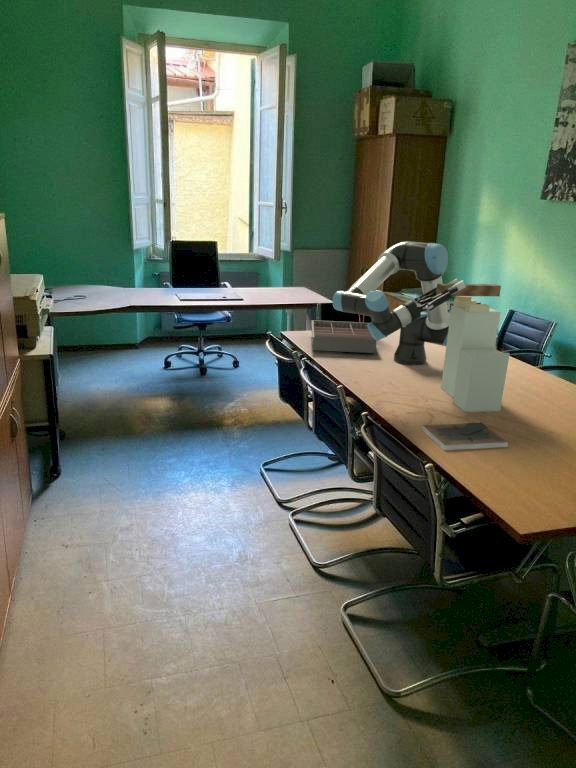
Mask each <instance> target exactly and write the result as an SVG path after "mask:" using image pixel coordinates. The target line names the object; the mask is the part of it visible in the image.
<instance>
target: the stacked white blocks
mask: <svg viewBox="0 0 576 768" xmlns="http://www.w3.org/2000/svg"><path fill="white" fill-rule="evenodd" d="M453 303H454V305H453V306H452V307H451V314H450V322H449V329H448V337H447V345H446V346H445V354H444V362H443V368H442V370H443V371H442V374H441V375H442V376H441V383H440V388H441V390H442V391H444V392H445V393H446V394H448V395H449V396H451V397H452V398H453V396H454V389H455V382H456V374H457V367H458V360H459V353H460V347H476V346H495V347H496V344H497V343H496V342H497V336H498V331H499V324H500V319H501V311H499V310H496V309H494V308H491V305H489V304H487V303H481V304H476V303H477V300H476V299H473V298H472V296H455V298H454V300H453Z"/></svg>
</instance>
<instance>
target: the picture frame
mask: <svg viewBox="0 0 576 768" xmlns="http://www.w3.org/2000/svg"><path fill="white" fill-rule="evenodd" d="M421 430H422V431H423V432H424V433H425V434H426V435H427V436H428V437H429V438H430V439H431V440H433V441H434V442H435V443H436V444H437V445H438V446H439V447H440V448H441V449H442V450H444V451H455V450H472V449H473V450H474V449H489V448H493V449H494V448H508V445H509V442H508V441H507V440H506V439H504V438H503V437H502V436H500V435H499V434H498V433H496V432H494V431H493V430H492V429H490V428H489V427H488V426H487V425H486V424H484V423H483V422H482V421H480V422H479V421H478V422H467V423H466V422H465V423H446V424H445V423H442V424H441V423H439V424H422V425H421Z"/></svg>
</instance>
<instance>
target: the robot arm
mask: <svg viewBox="0 0 576 768" xmlns="http://www.w3.org/2000/svg"><path fill="white" fill-rule="evenodd" d="M448 253H449V252H448V250H447V249H446V247H445V246H444V245H443V244H441V243H435V242H420V241H409V240H406V241H401V242H399V243H396V244H393V245H392V246H390V247H388V248H387V249H385V250H384V251H383V252H381V253H380V255H379V256H378V258H377V261H376V262H375V263H374V264H373V265H372V266H370V267H369V268H368V270H367V271H366V272H364V273H363V275H361V276H360V278H358V279H357V280H356V281H355V282H354V283H352V285H351V286H349V288H348V289H347V290H346V291H345V290H337V291H336V292H334V294H333V296H332V302H331V303H332V306H333V307H332V308H334V310H336V311H339V312H343V313H349V314H354V315H359V314H360V316H363V315H364V317H365V316H366V317H369V318H370V320H371V321H370V322H368V323H369V324H368V330H369V332H370V334H371V336H372V337H373V338H374V339H375V340H377V342H379V341H381V340H382V339H384V338H387V337H388V336H390V335H391V334H394V333H395V332H397V331H399V330H400V331H399V341H398V345H397V347H396V349H395V352H394V354H393V360H394V362H397V363H399V364H404V365H410V366H411V365H412V366H417V365H418V366H420V365H425V364H426V363H427V354H426V348H425V343H429V344H433V345H438V346H441V347H446V345H447V337H448V329H449V322H450V313H449V310H448V306H447V302H448V301H449V300H451V299H452V298H453V296H451V295H453V294H454V293H456V292H458V291H460V290H461V289H463V288H465V287H466V286H465V284H466V283H465V281H464V280H460V281H459V279H458V278H455V279H453V280H451V281H450V282H448V283H447V284H455V285H453V286H452V287H450V288H448V289H447V291H444V292H442V293H440V294H438V295H437V294H436V289H437V284H444V282H443V277H442V276H443V275H444V273H445V272H446V270H447V268H448V266H449V265H448V264H449V261H448V260H449V254H448ZM401 270H402V271H408V272H409V271H410V272H414V275H415V278H416V280H418V281H419V282H420V284H421V285H420V286H421V290H422V293H423V294H421V295H420V296H417V297H414V300H413V299H410V300H408V301H406V302H404V303H403V304H402V305H401V304H400V305H399V306H397V307H395V308H393V309H392V310H391V308H390V304H389V300H388V298H387V296H386V293H384V291H382V290H379V289H377V288H379V287H380V286H381V285H382V284H383V283H384V281H386V279H388V278H389V277H390V276H391V275H394V274H396V273H397V272H398V271H401ZM425 311H426V312H425Z"/></svg>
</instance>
